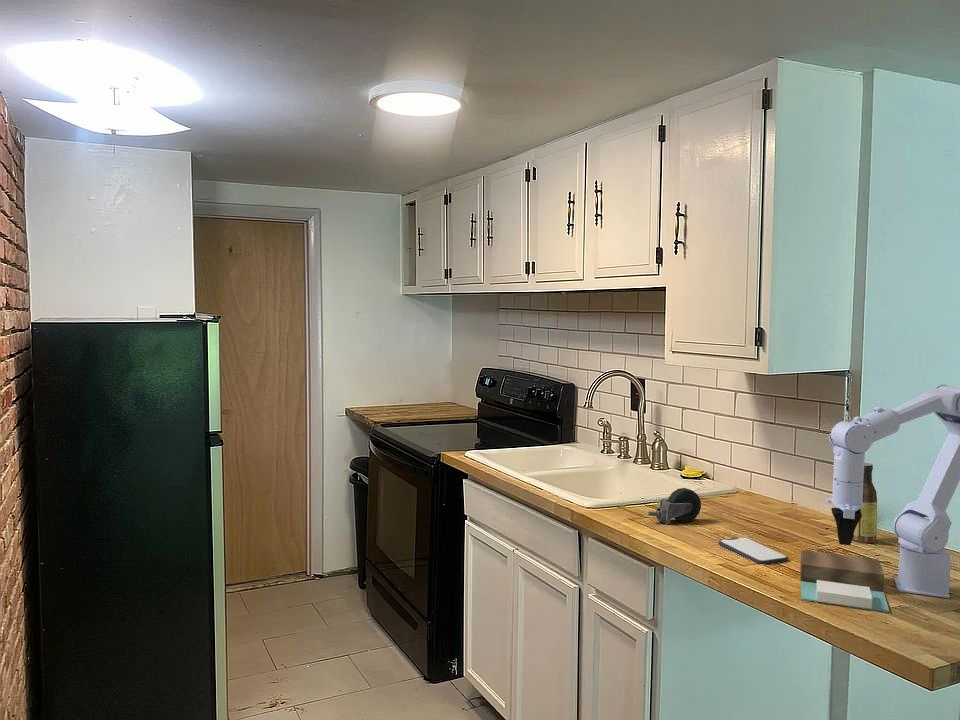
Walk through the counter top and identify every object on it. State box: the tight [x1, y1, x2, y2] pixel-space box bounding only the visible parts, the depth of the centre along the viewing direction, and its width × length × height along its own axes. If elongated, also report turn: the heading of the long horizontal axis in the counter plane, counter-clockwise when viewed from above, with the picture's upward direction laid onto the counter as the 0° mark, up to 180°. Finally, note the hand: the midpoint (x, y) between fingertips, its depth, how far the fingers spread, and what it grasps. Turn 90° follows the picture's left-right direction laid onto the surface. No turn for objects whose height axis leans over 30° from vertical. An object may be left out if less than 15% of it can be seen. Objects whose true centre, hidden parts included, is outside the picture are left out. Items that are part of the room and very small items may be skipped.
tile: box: [816, 580, 872, 609], centre depth 160 cm, size 10×7×2 cm
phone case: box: [718, 536, 789, 565], centre depth 190 cm, size 9×2×16 cm
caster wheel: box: [647, 487, 702, 525], centre depth 215 cm, size 6×10×15 cm
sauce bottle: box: [852, 462, 878, 544], centre depth 200 cm, size 7×6×20 cm
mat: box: [800, 580, 890, 613], centre depth 162 cm, size 16×10×1 cm, turn 68°
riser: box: [799, 549, 885, 592], centre depth 172 cm, size 16×10×4 cm, turn 69°
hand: (844, 543), depth 164 cm, fingers closed
